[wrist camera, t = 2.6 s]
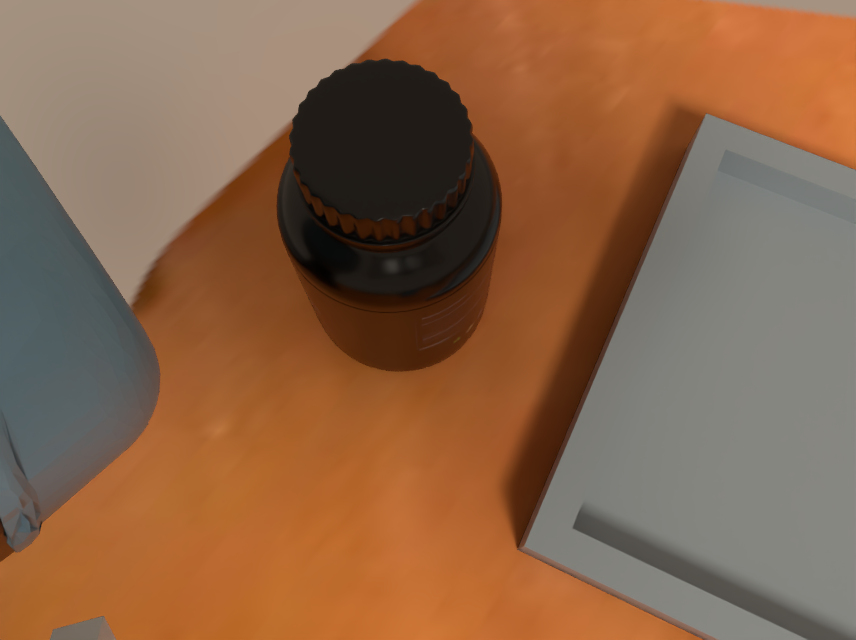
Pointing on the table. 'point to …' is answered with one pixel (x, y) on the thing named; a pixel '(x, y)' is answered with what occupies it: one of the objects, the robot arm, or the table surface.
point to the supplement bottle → (390, 214)
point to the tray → (724, 407)
